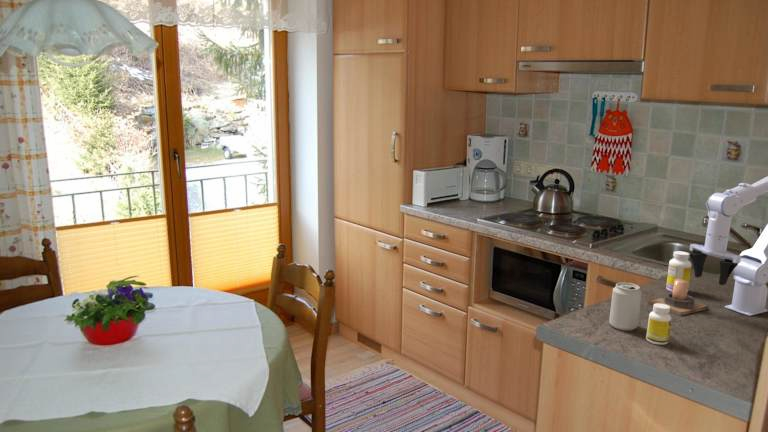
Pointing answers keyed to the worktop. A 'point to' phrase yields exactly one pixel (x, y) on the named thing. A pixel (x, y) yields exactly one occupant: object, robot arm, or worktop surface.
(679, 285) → the peach rounded peg
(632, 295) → the can
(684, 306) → the octagonal holder plate
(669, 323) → the supplement bottle
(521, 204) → the worktop surface
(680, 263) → the supplement bottle
